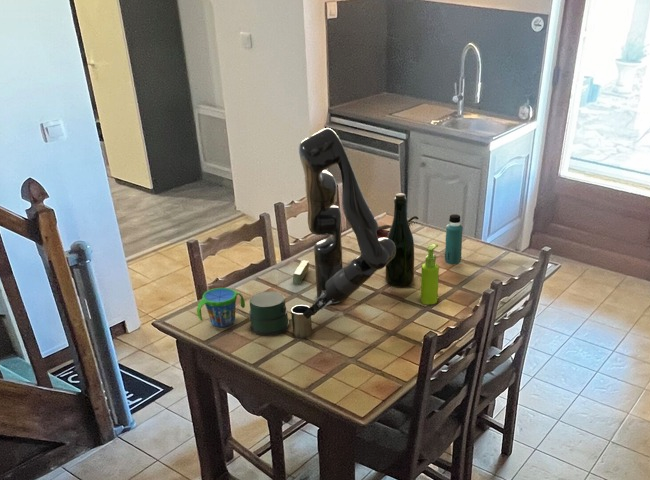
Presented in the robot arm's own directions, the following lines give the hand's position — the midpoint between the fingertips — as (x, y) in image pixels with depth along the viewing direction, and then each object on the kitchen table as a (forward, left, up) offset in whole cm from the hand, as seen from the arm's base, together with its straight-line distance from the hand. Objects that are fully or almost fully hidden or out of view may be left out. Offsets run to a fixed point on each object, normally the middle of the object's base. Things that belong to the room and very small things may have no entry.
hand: (312, 309), depth 212 cm
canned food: (-79, -11, -10) cm, 80 cm away
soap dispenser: (-38, +25, -10) cm, 47 cm away
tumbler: (0, -4, -10) cm, 10 cm away
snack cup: (+4, -31, -10) cm, 33 cm away
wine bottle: (-47, +10, -10) cm, 49 cm away
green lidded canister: (0, -16, -10) cm, 19 cm away
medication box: (-36, -25, -10) cm, 45 cm away
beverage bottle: (-69, +23, -10) cm, 73 cm away
